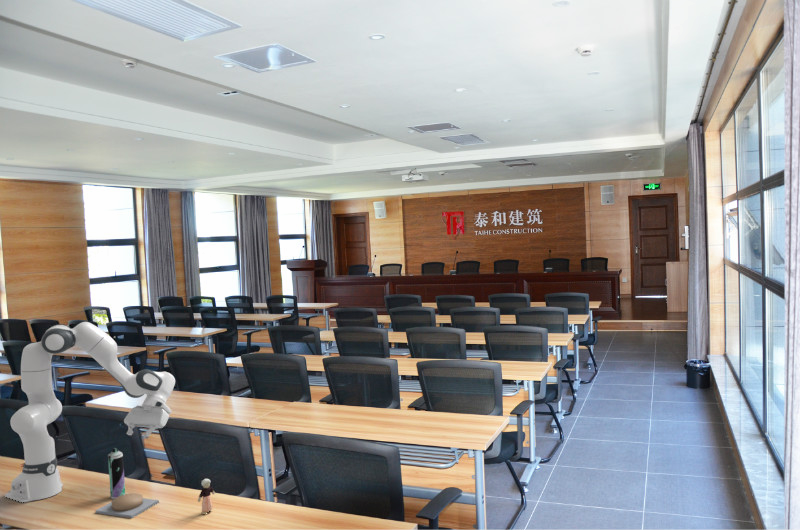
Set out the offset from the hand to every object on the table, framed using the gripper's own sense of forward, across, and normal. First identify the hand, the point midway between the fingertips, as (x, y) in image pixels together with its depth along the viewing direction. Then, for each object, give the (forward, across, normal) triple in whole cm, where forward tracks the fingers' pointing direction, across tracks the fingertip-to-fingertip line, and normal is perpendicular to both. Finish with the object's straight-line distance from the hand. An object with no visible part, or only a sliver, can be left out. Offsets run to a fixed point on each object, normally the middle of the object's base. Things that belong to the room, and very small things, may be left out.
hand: (137, 435), depth 258 cm
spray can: (+24, 0, +7) cm, 25 cm away
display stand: (+30, +13, +1) cm, 32 cm away
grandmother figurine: (+26, +47, +5) cm, 54 cm away
